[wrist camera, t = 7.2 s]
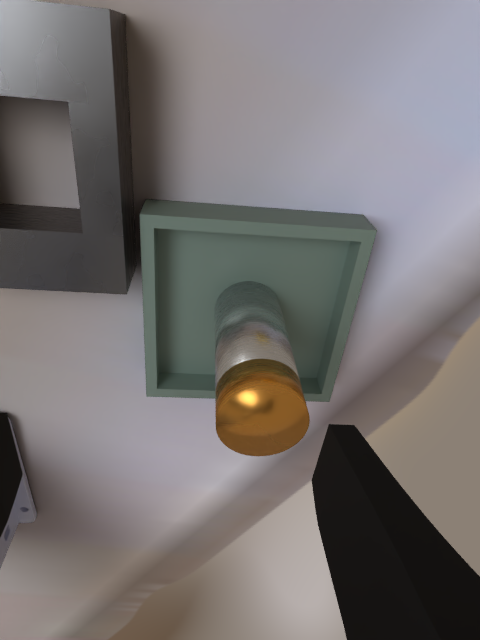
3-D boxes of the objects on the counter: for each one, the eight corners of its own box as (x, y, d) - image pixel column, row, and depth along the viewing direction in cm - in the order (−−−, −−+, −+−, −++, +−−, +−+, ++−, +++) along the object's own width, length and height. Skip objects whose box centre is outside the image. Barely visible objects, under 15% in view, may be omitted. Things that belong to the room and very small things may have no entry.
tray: (321, 378, 23) (329, 401, 21) (151, 372, 22) (146, 396, 20) (363, 214, 18) (377, 230, 16) (145, 198, 17) (139, 214, 16)
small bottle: (287, 286, 19) (321, 395, 13) (271, 340, 20) (295, 459, 15) (220, 276, 18) (224, 384, 13) (209, 332, 20) (208, 452, 14)
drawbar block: (136, 266, 19) (126, 294, 17) (-33, 256, 18) (-65, 284, 16) (125, 14, 14) (109, 8, 12) (-107, -12, 13) (-168, -23, 11)
